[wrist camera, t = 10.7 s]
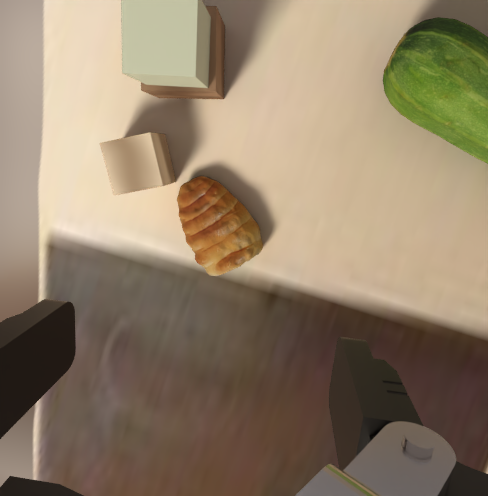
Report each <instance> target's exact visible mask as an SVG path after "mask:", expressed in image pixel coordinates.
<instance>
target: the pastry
mask: <svg viewBox="0 0 488 496" xmlns="http://www.w3.org/2000/svg"><path fill="white" fill-rule="evenodd" d="M177 202H178V206H179V217H180V220H181V223H182V228H183V231H184V233H185V235H186V242H187V243H188V245H189V246H190V247H191V248H192V250H193V251H194V252H195V260H196V261H197V263H198V264H200V265H202V266H203V267H204V268H205V269H206V272H207V273H208V274H209V275H212V276H218V275H220V274H224V273H226V272H228V271H231V270H233V269H235V268H238V267H239V266H241V265H242V264H243V263H244V262H246V261H249V260H250V259H251V258H253V257H254V256H256V255H258V254H259V253H260V252H261V250H262V248H263V243H262V240H261V236H260V229H259V226H258V224H257V223H256V222H255V220H254V219H253V218H252V216H251V215H250V214H249V212H248V211H247V209H246V208H245V206H244V205H243V204H241V203H240V202H239V201H238V200H237V199H236V198H235V197H234V196H233V195H232V194H231V193H230V192H229V191H228V190H227V189H226V188H225V187H224V186H222V185H221V184H220V183H219V182H217V181H215V180H212V179H210V178H207V177H204V176H199V177H196V178H193V179H192V180H190V181H189V182H186V183H184V184H183V185H182V186H181V187H180V191H179V195H178V198H177Z"/></svg>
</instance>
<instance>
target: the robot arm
mask: <svg viewBox="0 0 488 496" xmlns="http://www.w3.org/2000/svg"><path fill="white" fill-rule="evenodd" d="M75 349H76V346H75V310H74V306H73V304H72V303H71V302H66V301H58V300H50V299H44V300H42V301H41V302H39V303H38V304H36V305H35V306H33V307H31V308H30V309H28V310H27V311H25V312H23V313H21V314H19V315H16V316H13V317H10V318H7V319H5V320H4V321H2V322H0V439H1V437H3V436H4V435H5V434H6V432H8V431H9V429H10V428H11V427H12V426H13V425H14V424H15V423H16V422H17V421H18V420H19V419H20V418H21V417H22V416H23V415H24V414H25V413H26V412H27V411H28V410H29V409H30V408H31V407H32V406H33V405H34V404H35V403H36V402H37V401H38V400H39V399H40V398H41V397H42V396H43V395H44V394H45V393H46V392H47V391H48V390H49V389H50V388H51V387H52V386H53V385H54V384H55V383H56V382H57V381H58V380H59V379H60V378H61V377H62V376H63V375H64V374H65V373H66V372H67V371H68V369H69V368H70V366H71V365H72V362H73V360H74V356H75ZM329 408H330V414H331V420H332V426H333V432H334V438H335V445H336V451H337V457H338V463H339V468H338V467H336V466H335V465H333V464H329V465H327V466H325V467H324V468H323V469H322V470H321V471H320V472H319V473H318V474H317V475H316V476H315V477H314V478H313V479H312V480H311V481H310V482H309V483H308V484H307V485H306V486H305V487H304V488H303V489H302V490H301V491H300V492H299V493H298V494H297V495H296V496H488V474H486V473H483V472H480V471H478V470H475V469H472V468H470V467H467V466H465V465H463V464H461V463H459V462H457V461H456V456H455V453H454V451H453V449H452V447H451V446H450V445H449V444H448V443H447V442H446V440H444V439H443V438H442V437H441V436H440V435H438V434H437V433H435V432H434V431H432V430H430V429H428V428H426V427H424V426H423V424H422V422H421V420H420V418H419V416H418V414H417V412H416V410H415V408H414V406H413V404H412V402H411V400H410V398H409V396H407V391H406V389H405V387H404V385H402V381H401V379H400V377H399V375H398V373H397V371H396V370H395V369H394V368H392V367H391V366H390V365H389V364H388V363H387V362H386V361H385V360H381V359H373V356H372V354H371V351H370V349H369V347H368V344H367V342H366V340H359V339H352V338H344V337H339V338H338V341H337V346H336V352H335V358H334V364H333V370H332V376H331V382H330V390H329ZM0 496H83V495H81V494H79V493H77V492H75V491H73V490H71V489H69V488H66V487H64V486H62V485H60V484H55V483H49V482H43V481H37V480H30V479H25V478H18V477H13V476H10V477H9V478H8V479H7V480H6V481H5V483H4V484H3V485H2V486H1V487H0Z"/></svg>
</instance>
